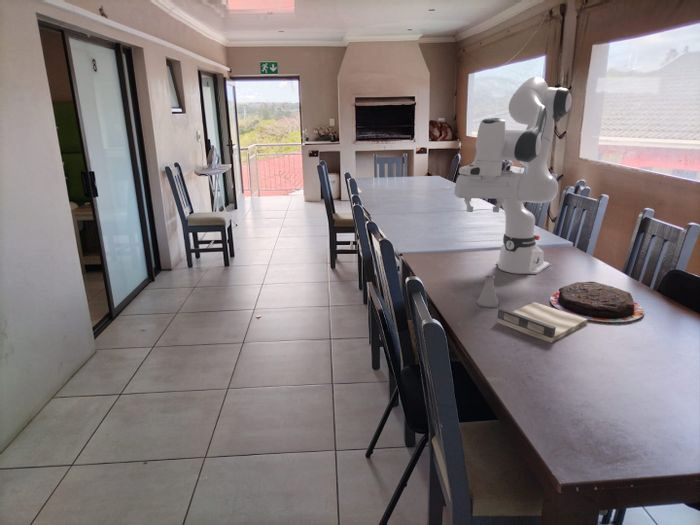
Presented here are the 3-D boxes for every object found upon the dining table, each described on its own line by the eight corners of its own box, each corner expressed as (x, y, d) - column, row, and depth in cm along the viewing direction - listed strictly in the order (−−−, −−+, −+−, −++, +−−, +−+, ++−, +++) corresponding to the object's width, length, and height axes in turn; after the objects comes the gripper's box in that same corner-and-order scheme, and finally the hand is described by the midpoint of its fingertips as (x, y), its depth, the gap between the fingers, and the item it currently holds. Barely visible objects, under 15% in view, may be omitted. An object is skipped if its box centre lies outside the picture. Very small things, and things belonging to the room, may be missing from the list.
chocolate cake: (605, 333, 140) (609, 312, 138) (531, 302, 164) (533, 284, 162) (662, 313, 153) (666, 294, 151) (585, 287, 176) (588, 270, 174)
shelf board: (533, 306, 159) (535, 293, 158) (586, 323, 146) (588, 310, 144) (496, 322, 148) (497, 309, 146) (550, 343, 134) (552, 328, 133)
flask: (499, 309, 158) (502, 280, 155) (477, 307, 159) (479, 279, 156) (497, 300, 165) (500, 273, 162) (476, 299, 166) (478, 272, 163)
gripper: (511, 169, 161) (506, 210, 164) (454, 168, 156) (450, 210, 160) (521, 171, 155) (516, 213, 158) (462, 169, 150) (458, 213, 154)
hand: (482, 211), depth 159 cm, fingers open, 8 cm apart
